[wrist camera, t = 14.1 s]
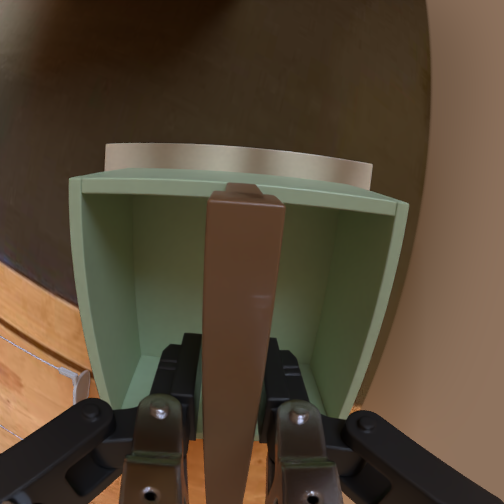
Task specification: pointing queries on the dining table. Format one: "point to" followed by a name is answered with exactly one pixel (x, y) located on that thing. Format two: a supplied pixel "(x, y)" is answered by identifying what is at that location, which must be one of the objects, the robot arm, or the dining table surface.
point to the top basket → (231, 290)
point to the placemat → (237, 161)
